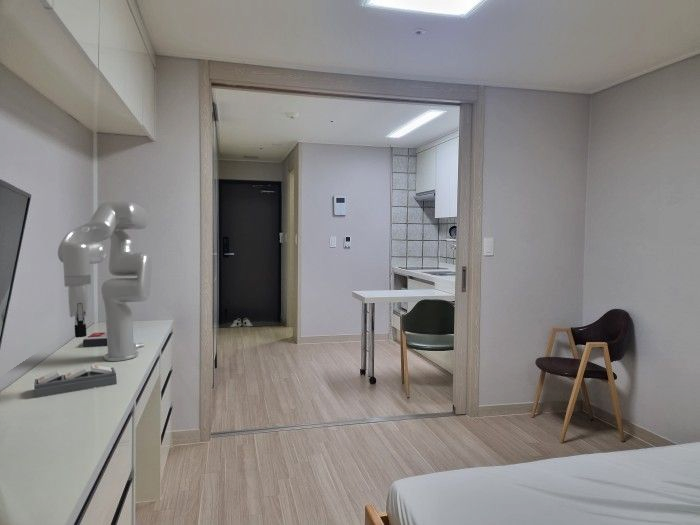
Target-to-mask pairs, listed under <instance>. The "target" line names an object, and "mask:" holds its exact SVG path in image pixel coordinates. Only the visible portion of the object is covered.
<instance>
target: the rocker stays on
mask: <svg viewBox="0 0 700 525" xmlns="http://www.w3.org/2000/svg"><path fill="white" fill-rule="evenodd" d="M60 375H61V372H60V370H59V369H56V370H54V371H52V372H49V373H48V374H46V375H43V376H41V377H39V378H37V379H38V383H39V384H42V383H47V382H49V381H51V380H53V379H55V378H57V377H59V376H60Z"/></svg>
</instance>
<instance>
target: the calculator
mask: <svg viewBox="0 0 700 525" xmlns="http://www.w3.org/2000/svg"><path fill="white" fill-rule="evenodd" d="M82 346H83V348H94V347H95V348H98V347H101V348H102V347H107V331H106V332H93V333H92V334H89V336H86V337H84V339H83V340H82Z"/></svg>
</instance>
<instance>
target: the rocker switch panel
mask: <svg viewBox="0 0 700 525" xmlns="http://www.w3.org/2000/svg"><path fill="white" fill-rule="evenodd" d="M110 368H111V370H112V373H106V374H105V373H99V372H93V371H91V370H86V371H87V372H86V373H84V374H82V375H79V376H77V377H75V378H73V379H68V380H66V378H65V374H62V375H61V374H60V376H59V377H57V378H55V379H53V380H51V381H49V382H47V383H42V384H39V383H38V379H39V378H35V379H34V388H33V389H34V398H35V397H37V398H42V397H41V396H43V397H47V396H48V395H49V396H52V395H59V394H60V395H61V394H66V393H71V392H76V391H83V390H89V388H90V389H94V387H96V388H101V387H100V386H102V387H106V386H107V385H108V386H113V385H117V384H118V383H117V381H118V380H117V372H116V369H115V368H114V367H110Z"/></svg>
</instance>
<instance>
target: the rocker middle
mask: <svg viewBox="0 0 700 525" xmlns="http://www.w3.org/2000/svg"><path fill="white" fill-rule="evenodd" d="M87 371H88V370H87V368H86V365H82V366H80V367H78V368H76V369H74V370H72V371H69V372H67V373H66V374H64V375H65V378H66V380H68V379H73V378H75V377H77V376H79V375H82V374H84V373H86V372H87Z"/></svg>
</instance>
